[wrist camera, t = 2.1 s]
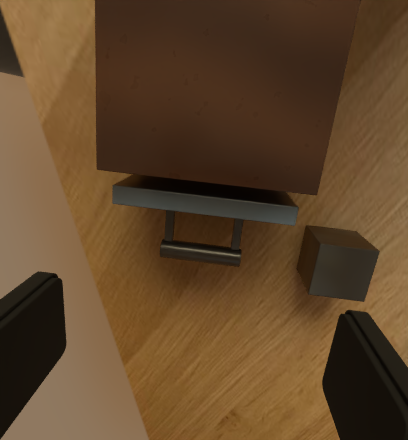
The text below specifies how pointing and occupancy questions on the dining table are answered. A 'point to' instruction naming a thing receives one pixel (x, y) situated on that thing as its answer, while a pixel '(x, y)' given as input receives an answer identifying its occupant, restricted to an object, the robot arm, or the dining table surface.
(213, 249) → the drawer
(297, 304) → the dining table surface
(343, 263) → the block
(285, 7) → the cabinet
